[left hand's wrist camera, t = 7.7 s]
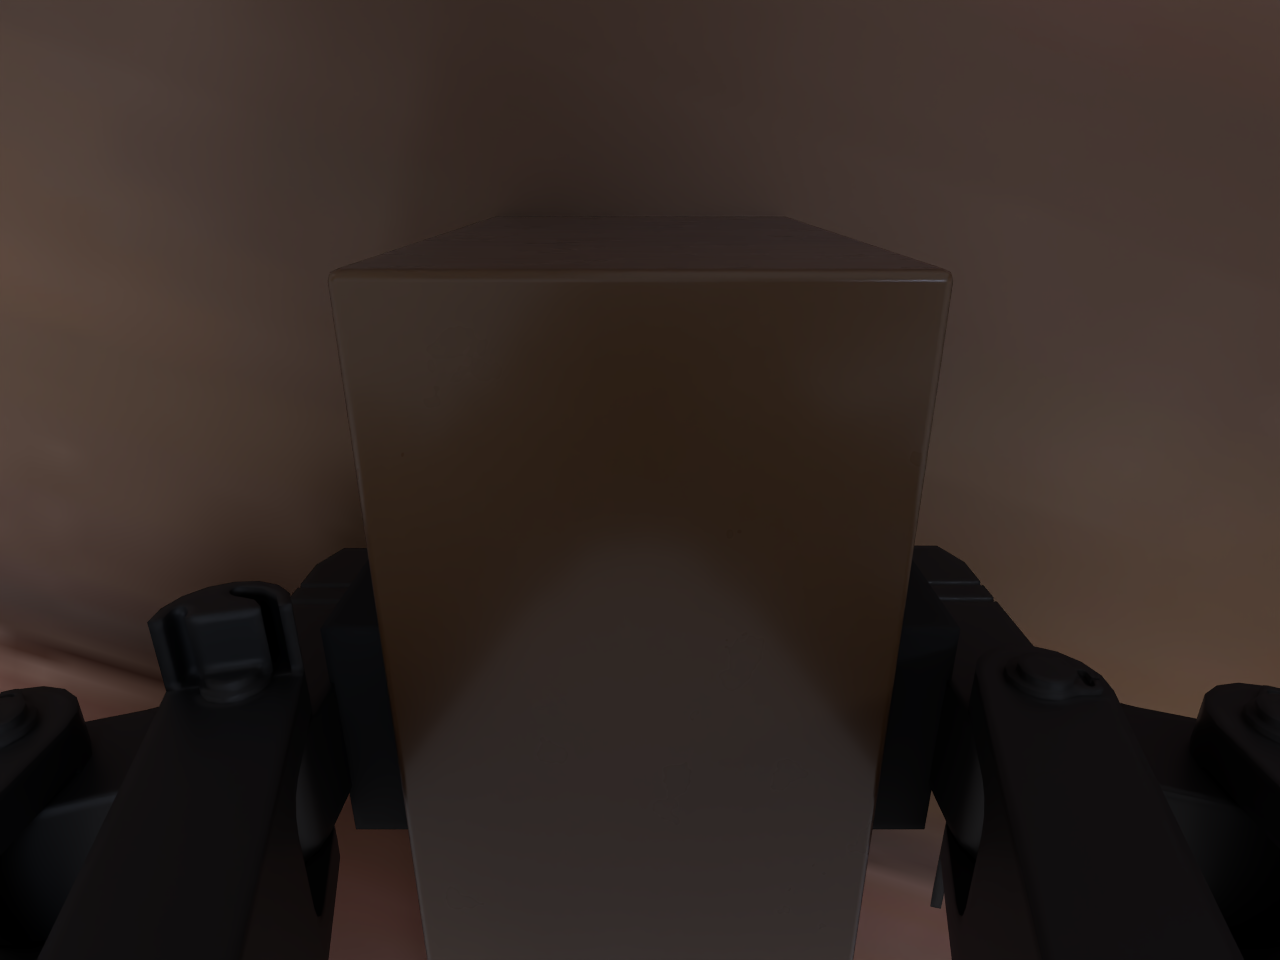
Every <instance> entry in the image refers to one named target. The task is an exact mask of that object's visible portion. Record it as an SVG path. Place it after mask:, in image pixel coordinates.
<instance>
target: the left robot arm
mask: <svg viewBox="0 0 1280 960" xmlns="http://www.w3.org/2000/svg"><path fill="white" fill-rule="evenodd" d="M147 623H148V627H149V630H150V634H151V638H152V641H153V645H154V648H155V652H156V656H157V659H158V663H159V667H160V670H161V674H162V678H163V681H164V685H165V688H166V694H165V696H164V698H163V700H162V702H161V704H160V706H159V707H156V708H152V709H148V710H144V711H139V712H134V713H129V714H124V715H118V716H113V717H108V718H103V719H98V720H93V721H88V722H85V721H84V718H83V715H82V712H81V709H80V706H79V703H78V700H77V697H75V696H74V695H73V694H71V693H70V692H68V691H67V690H66V689H61V688H53V687H45V686H42V687H33V688H24V689H13V690H8V691H4V692H1V693H0V960H328V958H329V949H330V941H331V932H332V923H333V915H334V906H335V897H336V888H337V880H338V871H339V862H340V853H339V847H338V841H337V835H336V830H335V823H336V820H337V818H338V816H339V814H340V812H341V810H342V808H343V805H344V803H345V801H346V799H347V797H348V795H349V793H350V798H351V803H352V809H353V814H354V820H355V826H356V829H408V824H407V817H406V810H405V804H404V797H403V790H402V783H401V776H400V770H399V763H398V756H397V749H396V742H395V735H394V729H393V722H392V715H391V708H390V701H389V695H388V688H387V681H386V674H385V667H384V660H383V654H382V647H381V640H380V633H379V626H378V619H377V613H376V606H375V599H374V592H373V585H372V579H371V572H370V565H369V558H368V551H367V548H344V549H342V550H340V551H339V552H337V553H335V554H334V555H332V556H330V557H329V558H327V559H325V560H324V561H322V562H320V563H319V564H317V565H316V566H315V567H314V569H313V570H312V571H311V572H310V573H309V575H308V576H307V577H306V578H305V580H304V581H303V582H302V583H301V588H297V589H296V591H295V592H294V593H293V594H292V596H291V597H290V593H289V592H288V591H286V590H285V589H283V588H282V587H281V586H279V585H276V584H271V583H266V582H261V581H248V582H232V583H227V584H222V585H216V586H211V587H207V588H204V589H201V590H199V591H196V592H193V593H190V594H187V595H185V596H182V597H180V598H178V599H177V600H175V601H173V602H171V603H170V604H168V605H166V606H165V607H163V608H161V609H160V610H159V611H158V612H157V613H156V614H155V615H154V616H153V617H152V618H151V619H150V620H149V621H148V622H147ZM931 790H932V792H933V794H934V796H935V798H936V800H937V803H938V805H939V807H940V809H941V811H942V813H943V815H944V817H945V820H946V825H945V830H944V835H943V841H942V846H941V851H940V856H939V861H938V867H937V872H936V877H935V882H934V887H933V893H932V899H931V905H930V906H931V907H935V908H940V909H941V905H942V900H943V895H945V904H946V913H947V921H948V930H949V939H950V947H951V956H952V960H1280V688H1276V687H1271V686H1265V685H1263V686H1261V685H1253V684H1244V683H1233V684H1225V685H1217V686H1216V687H1214V688H1213V689H1211V690H1210V691H1209V692H1207V693H1206V694H1205V696H1204V699H1203V702H1202V705H1201V708H1200V711H1199V714H1198V717H1197V719H1195V718H1190V717H1185V716H1180V715H1175V714H1169V713H1164V712H1159V711H1154V710H1149V709H1144V708H1138V707H1134V706H1130V705H1126V704H1122V703H1119V700H1118V698H1117V696H1116V694H1115V692H1114V690H1113V689H1112V688H1111V687H1110V685H1109V684H1108V683H1107V682H1106V681H1105V679H1104V678H1103V677H1102V676H1101V675H1100V674H1098V673H1097V672H1095V671H1094V670H1093V669H1091V668H1090V667H1088V666H1087V665H1085V664H1084V663H1082V662H1080V661H1078V660H1076V659H1073V658H1071V657H1068V656H1066V655H1064V654H1061V653H1059V652H1056V651H1052V650H1047V649H1043V648H1039V647H1034V646H1033V645H1032V644H1031V643H1030V641H1029V640H1028V639H1027V638H1026V636H1025V635H1024V634H1023V633H1022V632H1021V630H1020V629H1019V628H1018V627H1017V626H1016V624H1015V623H1014V622H1013V621H1012V619H1011V618H1010V617H1009V616H1008V615H1007V613H1006V612H1005V611H1004V610H1003V609H1002V607H1001V606H1000V605H999V604H998V602H994V601H993V596H992V595H991V594H990V593H989V592H988V590H987V589H986V588H985V587H984V585H980V581H979V579H978V578H977V577H976V576H975V575H974V573H973V572H972V571H971V570H970V568H969V567H968V566H967V565H966V564H965V562H963V561H961V560H960V559H958V558H956V557H955V556H953V555H951V554H950V553H948V552H946V551H945V550H943V549H941V548H940V547H938V546H914V549H913V556H912V563H911V570H910V577H909V583H908V590H907V597H906V604H905V611H904V617H903V624H902V631H901V638H900V645H899V651H898V658H897V665H896V672H895V679H894V685H893V692H892V699H891V706H890V713H889V719H888V726H887V733H886V740H885V747H884V753H883V760H882V767H881V774H880V781H879V787H878V794H877V801H876V808H875V815H874V821H873V828H872V829H924V828H925V823H926V817H927V812H928V806H929V801H930V795H931Z"/></svg>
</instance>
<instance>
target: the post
mask: <svg viewBox="0 0 1280 960" xmlns="http://www.w3.org/2000/svg"><path fill="white" fill-rule="evenodd" d="M952 284H953V279H952V275H951V272H949V271H947V270H945V269H942V268H939V267H936V266H933V265H930V264H927V263H924V262H921V261H918V260H915V259H912V258H909V257H906V256H903V255H900V254H897V253H894V252H891V251H888V250H885V249H882V248H878V247H875V246H872V245H869V244H866V243H863V242H860V241H857V240H854V239H851V238H848V237H845V236H842V235H839V234H836V233H833V232H830V231H827V230H824V229H821V228H818V227H815V226H812V225H809V224H806V223H803V222H799V221H796V220H793V219H790V218H787V217H493V218H490V219H487V220H484V221H481V222H478V223H475V224H472V225H469V226H466V227H463V228H460V229H457V230H454V231H451V232H448V233H445V234H441V235H438V236H435V237H432V238H429V239H426V240H423V241H420V242H417V243H414V244H411V245H408V246H405V247H402V248H399V249H396V250H393V251H390V252H387V253H384V254H381V255H378V256H375V257H372V258H369V259H366V260H363V261H360V262H357V263H354V264H351V265H348V266H345V267H342V268H338V269H336V270H334V271H332V272H330V274H329V278H328V285H329V292H330V299H331V306H332V313H333V319H334V326H335V333H336V340H337V347H338V353H339V360H340V367H341V374H342V381H343V388H344V394H345V401H346V408H347V415H348V422H349V428H350V435H351V442H352V449H353V456H354V463H355V469H356V476H357V483H358V490H359V497H360V504H361V510H362V517H363V524H364V531H365V538H366V544H367V551H368V558H369V565H370V572H371V579H372V585H373V592H374V599H375V606H376V613H377V619H378V626H379V633H380V640H381V647H382V654H383V660H384V667H385V674H386V681H387V688H388V695H389V701H390V708H391V715H392V722H393V729H394V735H395V742H396V749H397V756H398V763H399V770H400V776H401V783H402V790H403V797H404V804H405V810H406V817H407V824H408V831H409V838H410V845H411V851H412V858H413V865H414V872H415V879H416V885H417V892H418V899H419V906H420V913H421V920H422V926H423V933H424V940H425V947H426V954H427V960H853V957H854V950H855V944H856V937H857V930H858V923H859V916H860V910H861V903H862V896H863V889H864V882H865V876H866V869H867V862H868V855H869V849H870V842H871V835H872V828H873V821H874V815H875V808H876V801H877V794H878V787H879V781H880V774H881V767H882V760H883V753H884V747H885V740H886V733H887V726H888V719H889V713H890V706H891V699H892V692H893V685H894V679H895V672H896V665H897V658H898V651H899V645H900V638H901V631H902V624H903V617H904V611H905V604H906V597H907V590H908V583H909V577H910V570H911V563H912V556H913V549H914V543H915V536H916V529H917V522H918V515H919V509H920V502H921V495H922V488H923V481H924V475H925V468H926V461H927V454H928V447H929V441H930V434H931V427H932V420H933V414H934V407H935V400H936V393H937V386H938V380H939V373H940V366H941V359H942V352H943V346H944V339H945V332H946V325H947V318H948V312H949V305H950V298H951V291H952Z"/></svg>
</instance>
